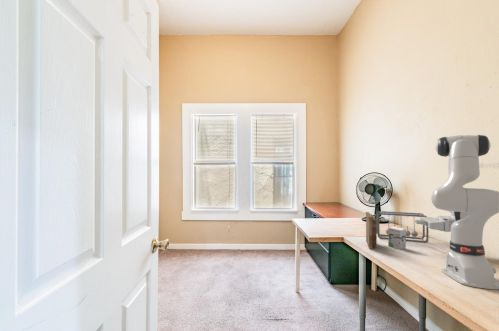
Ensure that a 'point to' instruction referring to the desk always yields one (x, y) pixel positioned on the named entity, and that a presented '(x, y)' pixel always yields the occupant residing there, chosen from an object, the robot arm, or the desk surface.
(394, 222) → the newton's cradle
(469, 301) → the desk surface
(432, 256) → the desk surface
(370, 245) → the headboard
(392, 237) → the ink box
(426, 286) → the desk surface
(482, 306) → the desk surface
